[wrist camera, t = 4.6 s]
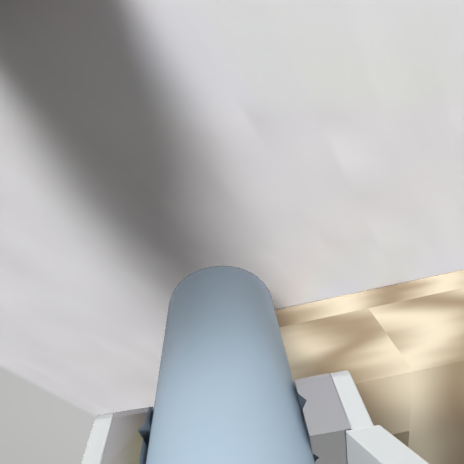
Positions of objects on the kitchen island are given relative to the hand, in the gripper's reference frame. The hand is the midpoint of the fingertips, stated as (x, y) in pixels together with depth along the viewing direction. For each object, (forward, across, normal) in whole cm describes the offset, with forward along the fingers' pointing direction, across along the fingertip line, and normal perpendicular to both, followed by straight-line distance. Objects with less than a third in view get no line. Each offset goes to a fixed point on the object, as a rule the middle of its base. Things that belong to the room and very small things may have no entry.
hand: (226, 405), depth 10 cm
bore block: (+10, -8, +12) cm, 18 cm away
